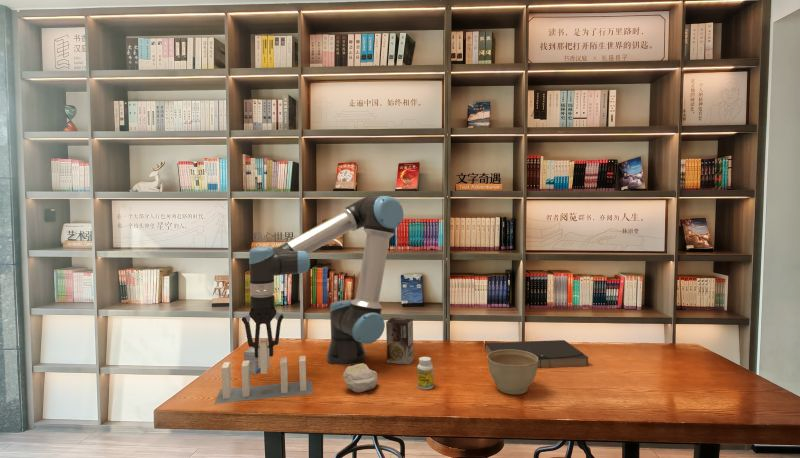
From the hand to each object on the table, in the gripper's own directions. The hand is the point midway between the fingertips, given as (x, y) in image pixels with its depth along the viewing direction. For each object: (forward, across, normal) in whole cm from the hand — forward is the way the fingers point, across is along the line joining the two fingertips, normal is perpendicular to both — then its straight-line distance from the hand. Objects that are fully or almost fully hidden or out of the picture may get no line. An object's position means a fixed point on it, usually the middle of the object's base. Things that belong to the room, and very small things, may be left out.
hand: (264, 366), depth 155 cm
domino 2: (+8, -6, 0) cm, 10 cm away
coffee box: (+9, +49, +18) cm, 53 cm away
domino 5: (+8, +12, 0) cm, 15 cm away
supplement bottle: (+9, +52, -8) cm, 54 cm away
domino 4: (+8, +6, 0) cm, 10 cm away
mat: (+9, 0, 0) cm, 9 cm away
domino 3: (+1, 0, 0) cm, 1 cm away
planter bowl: (+9, +79, -17) cm, 82 cm away
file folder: (+9, +101, +10) cm, 102 cm away
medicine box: (+9, -5, +21) cm, 23 cm away
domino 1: (+9, -12, 0) cm, 15 cm away
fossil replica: (+9, +31, -5) cm, 33 cm away
